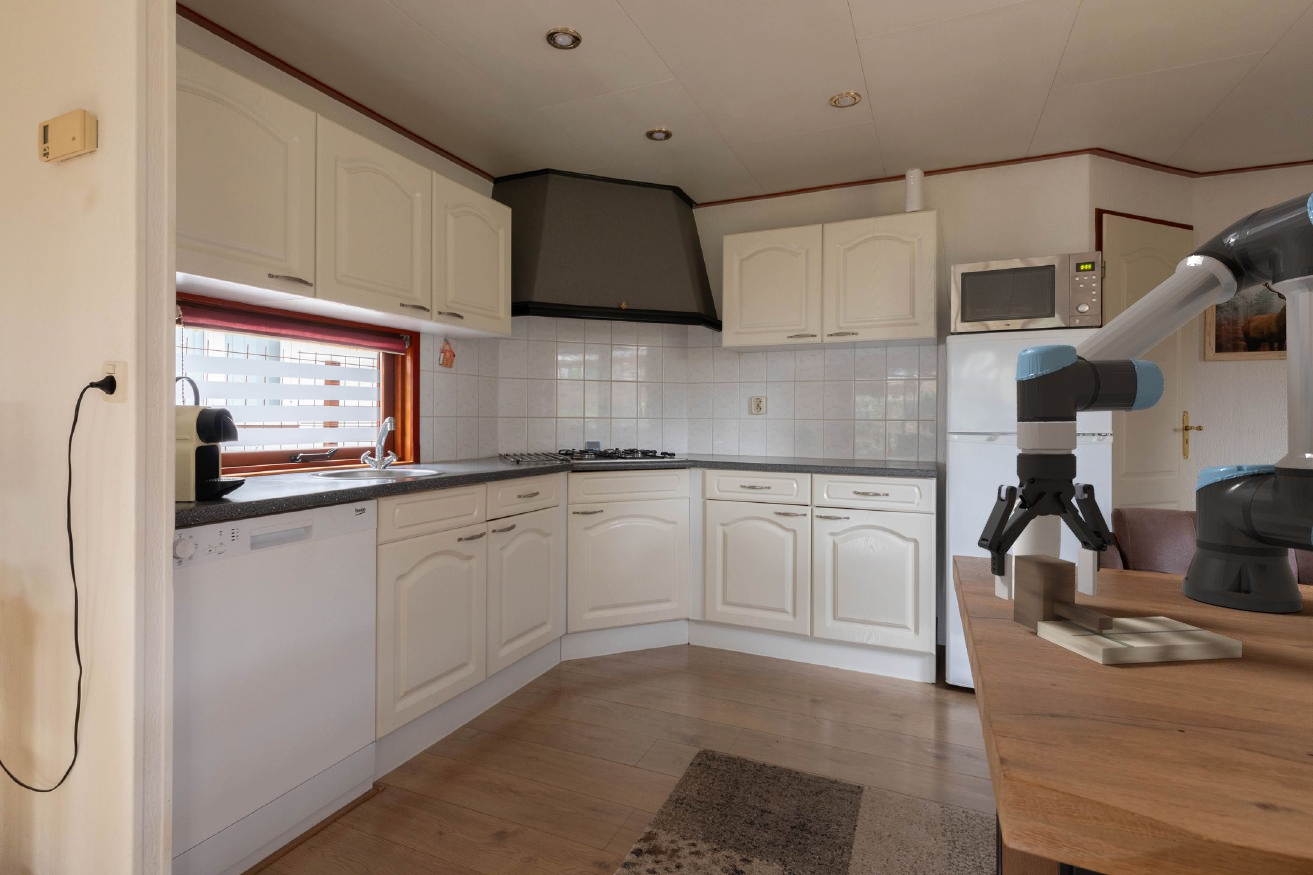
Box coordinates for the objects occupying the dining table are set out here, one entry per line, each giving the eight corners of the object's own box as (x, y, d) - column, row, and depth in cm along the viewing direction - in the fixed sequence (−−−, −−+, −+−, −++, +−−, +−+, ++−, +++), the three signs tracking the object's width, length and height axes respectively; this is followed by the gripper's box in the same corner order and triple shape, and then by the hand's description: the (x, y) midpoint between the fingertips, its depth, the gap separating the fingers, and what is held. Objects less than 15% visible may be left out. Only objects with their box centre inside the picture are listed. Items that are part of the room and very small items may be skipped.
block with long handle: (1043, 619, 98) (1044, 554, 97) (1122, 651, 84) (1123, 575, 84) (1013, 621, 97) (1014, 555, 97) (1088, 653, 83) (1089, 576, 83)
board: (1162, 630, 93) (1162, 615, 93) (1241, 657, 82) (1242, 641, 82) (1037, 635, 90) (1037, 620, 90) (1102, 664, 79) (1102, 647, 79)
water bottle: (1056, 600, 109) (1058, 453, 108) (1063, 611, 102) (1065, 455, 102) (1009, 595, 112) (1011, 452, 111) (1012, 605, 105) (1014, 454, 105)
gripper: (1100, 449, 99) (1100, 585, 100) (952, 452, 96) (952, 592, 96) (1143, 451, 92) (1143, 598, 92) (984, 454, 88) (984, 606, 89)
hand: (1045, 595), depth 94 cm, fingers open, 13 cm apart
